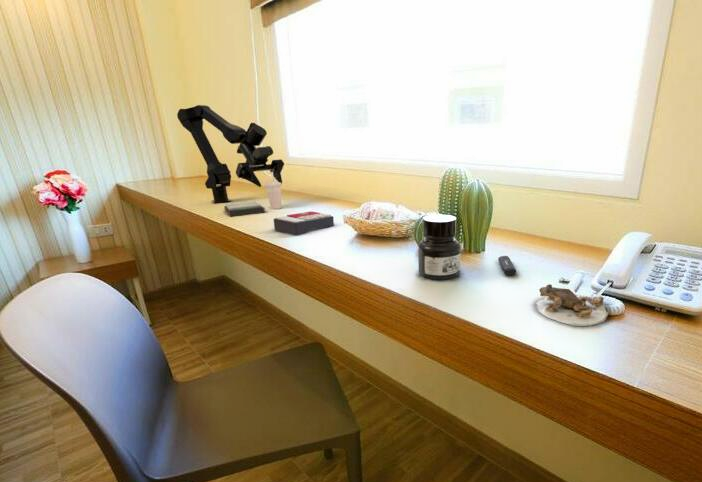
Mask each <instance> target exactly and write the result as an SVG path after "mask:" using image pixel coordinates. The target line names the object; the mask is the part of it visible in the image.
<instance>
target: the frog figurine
mask: <svg viewBox="0 0 702 482" xmlns="http://www.w3.org/2000/svg"><path fill="white" fill-rule="evenodd" d="M539 293H540V294H539V296H540V297H544V298H540V299H539V300H538V301H537V302H536V303H535V306H536V309H537V311H538V312H539V313H540V314H541V315H543V316H544V317H546V318H547V319H550V320H553V321H557V322H559V323H560V324H561V323H562V324H566V325H569V326H572V327H573V326H574V327H587V326H595V325H599V324H601V323H603V322H605V321H606V319H607V318H608V316H609V311H607V310H606V309H607V307H606V304H605V302H604V300H605V297H603V296H601V295H600V296H596V295H595V296H594V297H592V296H588V295H583V296H582V295H579V294H575V293H574V292H573V291H572V290H571V289H570V288H563V287H554V286H553V284H547V285H546V286H541V287H540V288H539Z"/></svg>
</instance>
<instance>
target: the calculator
mask: <svg viewBox="0 0 702 482" xmlns="http://www.w3.org/2000/svg"><path fill="white" fill-rule="evenodd" d="M334 220H335V219H334V216H333V215H332V214H328V213H322V212H317V211H305V212H299V213H293V214H292V213H291V214H287V215H283V216H276V217H274V218H273V228H274V231H277V232H281V233H287V234H290V235H294V236H298V235H303V234H307V233H308V232H310V231H315V230H319V229H323V228H328V227H333V226H334V225H335V222H334Z"/></svg>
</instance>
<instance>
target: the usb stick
mask: <svg viewBox="0 0 702 482" xmlns="http://www.w3.org/2000/svg"><path fill="white" fill-rule="evenodd" d="M498 262H499V264H500V266H501V268H502V271H503V273H504V274H505V275H506V276H514V275H517V269H516V267H515V266H514V263H513V262H512V260H511V258H510V257H509V256H508V255H501V256H499V257H498Z"/></svg>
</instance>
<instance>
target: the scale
mask: <svg viewBox="0 0 702 482" xmlns="http://www.w3.org/2000/svg"><path fill="white" fill-rule="evenodd" d="M223 207H224V211H225V213H226V214H227V215H228V216H229V217H238V216H239V217H240V216H247V215H255V214H265V208H264V206H262V205H261V204H260V203H258V202H257V201H255V200H254V201H246V202H245V201H244V202H236V203H227V204H225V205H224V206H223Z"/></svg>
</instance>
